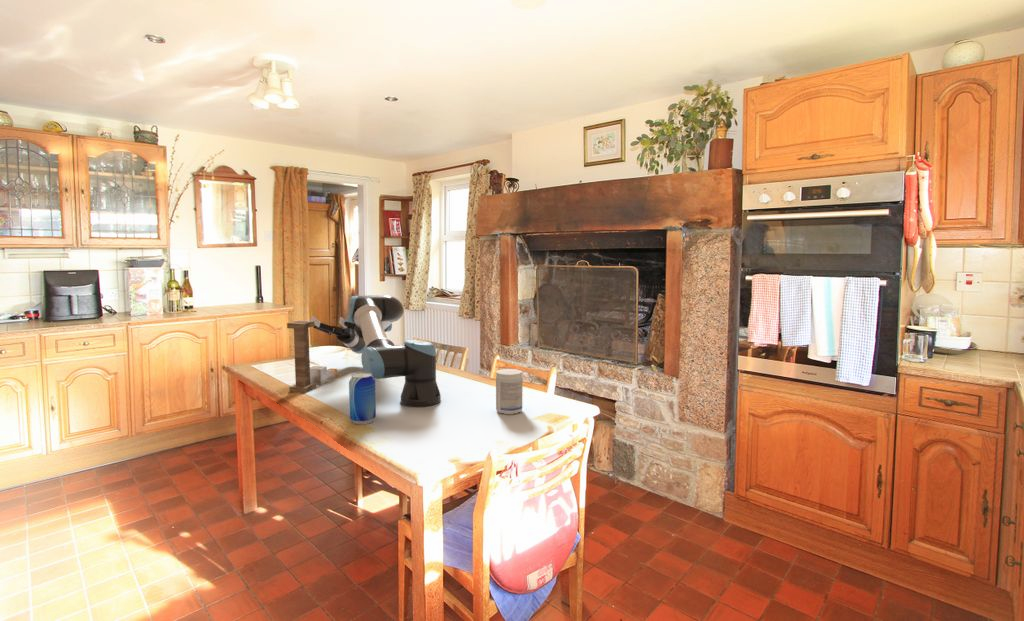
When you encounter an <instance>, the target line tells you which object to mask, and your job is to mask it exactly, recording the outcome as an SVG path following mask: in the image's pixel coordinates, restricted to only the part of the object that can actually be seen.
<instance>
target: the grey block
mask: <svg viewBox="0 0 1024 621" xmlns="http://www.w3.org/2000/svg"><path fill="white" fill-rule="evenodd" d="M337 377H338V368H331V367H330V368H327V366H318V365H313V366H310V383H316V386H323V385H325V384H327V383H328V380H329V381H331V380H333V379H335V378H337ZM330 379H331V380H330ZM322 384H323V385H322Z"/></svg>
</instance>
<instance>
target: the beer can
mask: <svg viewBox="0 0 1024 621" xmlns="http://www.w3.org/2000/svg"><path fill="white" fill-rule="evenodd" d="M348 391H349V392H348V397H349V400H348V401H349V404H348V405H349V419H350V421H351V423H353V424H354V423H356V424H355V425H366V424H365V423H368V424H371V423H373V422H374V420H375V419H376V417H377V415H376V414H377V413H376V412H377V411H376V409H377V406H376V379H374V378H373V377H372V374H371V373H364V372H357V373H353V374H352V375H351V378H350V380H349V381H348ZM370 422H371V423H370Z"/></svg>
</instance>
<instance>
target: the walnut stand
mask: <svg viewBox="0 0 1024 621" xmlns="http://www.w3.org/2000/svg"><path fill="white" fill-rule="evenodd" d="M314 326H315V325H314V321H311V320H297V321H291V322H287V323H286V329H292V330H293V343H294V344H293V345H294V349H293V350H294V374H295V377H294V378H295V384H293V385H291V386H289V392H290V391H292V392H291V393H298V392H301V393H302V394H306V392H307V393H309V392H310V390H311V391H313V390H316V389H317V385H316V383H310V367H311V366H310V365H311V364H310V363H311V362H310V339H309V338H310V336H309V335H310V334H309V333H310V332H309V329H310V328H312V327H314ZM312 389H313V390H312ZM308 391H309V392H308Z"/></svg>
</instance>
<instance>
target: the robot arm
mask: <svg viewBox="0 0 1024 621" xmlns="http://www.w3.org/2000/svg"><path fill="white" fill-rule="evenodd" d="M403 314H404V305H403V303H402V302H401V301H400V300H399V299H398V298H396V297H395V296H393V295H392V296H391V295H387V294H381V295H380V294H378V295H377V294H376V295H374V294H372V295H352V296H350V297H349V308H348V315H347V316H346V318H345V319H344V317H342V316H340V317H339V320H338V323H339V324H340V326H342V327H340V326H335V325H329V324H326V323H323V322H321V321H320V319H318V318H316V317H315V316H314V315H311V318H310V321H314V325H315V326H313V328H314V329H315V330H318V331H320V332H322V333H325V334H327V335H328V336H331V335H335V336H336V338H337V340H338V341H339V342H340V343H342V344H344V345H345V346H346V348H348V349H350V350H351V351H352V352H353V353H356V354H361V357H360V358H361V359H360V360H361V365H362V370H363V373H371V374H372V377H373V378H374V380H380V379H389V378H397V377H398V378H399V377H404V384H403V388H402V391H401V395H400V404H401V405H403V406H408V407H416V408H417V407H418V408H419V407H430V406H434V405H437V404H439V403H441V396H442V395H441V392H440V389H439V387H438V386H439V385H438V383H437V352H436V350H437V349H436V348H437V347H436V345H435V344H433V343H432V342H429V341H425V340H418V339H417V340H415V339H414V340H413V339H410V340H409V339H408V340H405V341H404V343H403V344H401V345H400V344H398V345H396V344H394V342H393V341H391V339H388V336H387V334H386V332H387V333H388V332H391V331H392V328H393V323H394V322H398V321H399V320H400V319H401V318H402V317H403Z"/></svg>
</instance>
